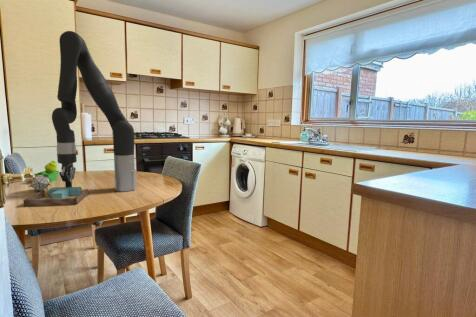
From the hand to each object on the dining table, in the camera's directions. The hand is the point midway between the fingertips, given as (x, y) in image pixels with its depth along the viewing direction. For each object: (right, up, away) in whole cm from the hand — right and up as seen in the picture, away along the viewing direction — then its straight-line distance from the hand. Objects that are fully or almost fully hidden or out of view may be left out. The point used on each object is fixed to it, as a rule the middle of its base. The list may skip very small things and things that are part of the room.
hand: (68, 189), depth 132 cm
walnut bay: (+3, -3, -11) cm, 12 cm away
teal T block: (+1, -3, -7) cm, 7 cm away
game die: (-15, -1, +2) cm, 15 cm away
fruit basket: (-24, +2, +22) cm, 32 cm away
